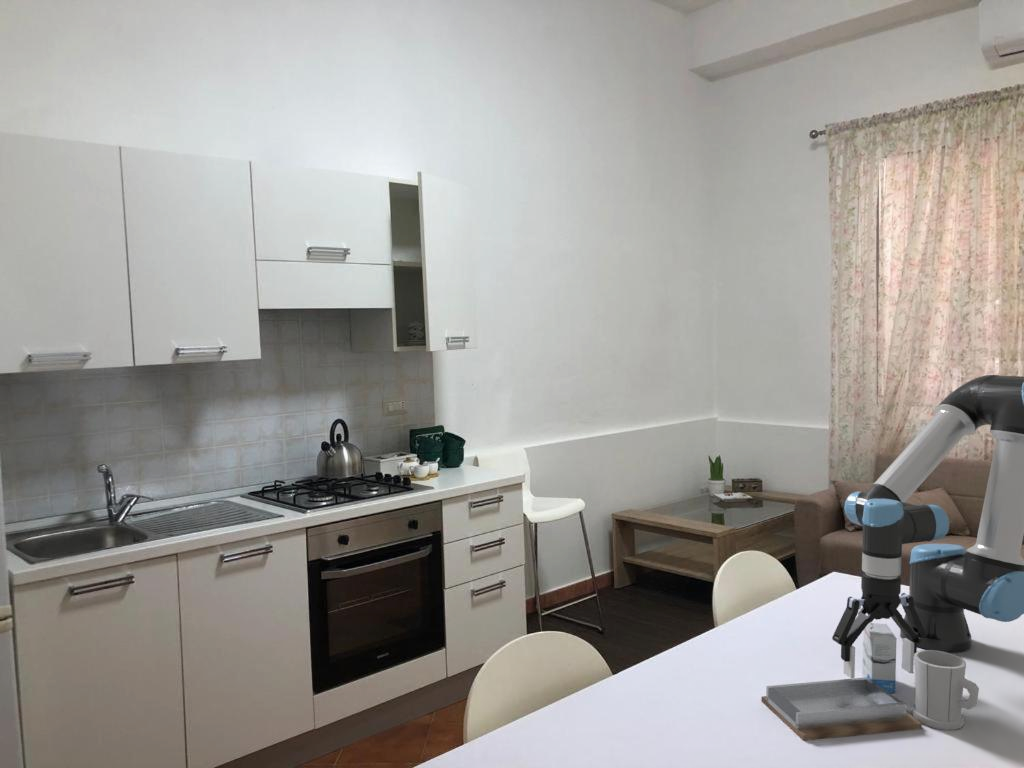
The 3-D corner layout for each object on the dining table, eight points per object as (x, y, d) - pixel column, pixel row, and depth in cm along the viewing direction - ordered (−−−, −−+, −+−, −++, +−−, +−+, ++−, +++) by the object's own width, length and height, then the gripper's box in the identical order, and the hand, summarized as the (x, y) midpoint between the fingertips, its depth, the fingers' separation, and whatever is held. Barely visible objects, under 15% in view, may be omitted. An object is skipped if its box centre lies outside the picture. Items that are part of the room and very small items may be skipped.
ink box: (896, 693, 168) (897, 637, 167) (870, 691, 169) (871, 635, 168) (885, 676, 176) (887, 622, 176) (861, 674, 177) (862, 621, 177)
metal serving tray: (866, 691, 167) (867, 677, 167) (905, 719, 155) (905, 703, 155) (766, 700, 163) (766, 686, 163) (797, 730, 151) (798, 714, 151)
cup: (969, 714, 159) (971, 653, 158) (978, 736, 150) (981, 672, 150) (909, 706, 162) (910, 647, 162) (915, 727, 154) (917, 665, 153)
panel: (869, 691, 169) (869, 686, 169) (921, 728, 153) (921, 723, 153) (761, 701, 165) (761, 696, 165) (803, 740, 149) (803, 735, 149)
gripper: (922, 565, 177) (919, 661, 179) (816, 572, 173) (814, 670, 174) (946, 575, 170) (943, 675, 171) (836, 582, 165) (834, 685, 167)
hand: (878, 673), depth 173 cm, fingers open, 13 cm apart
